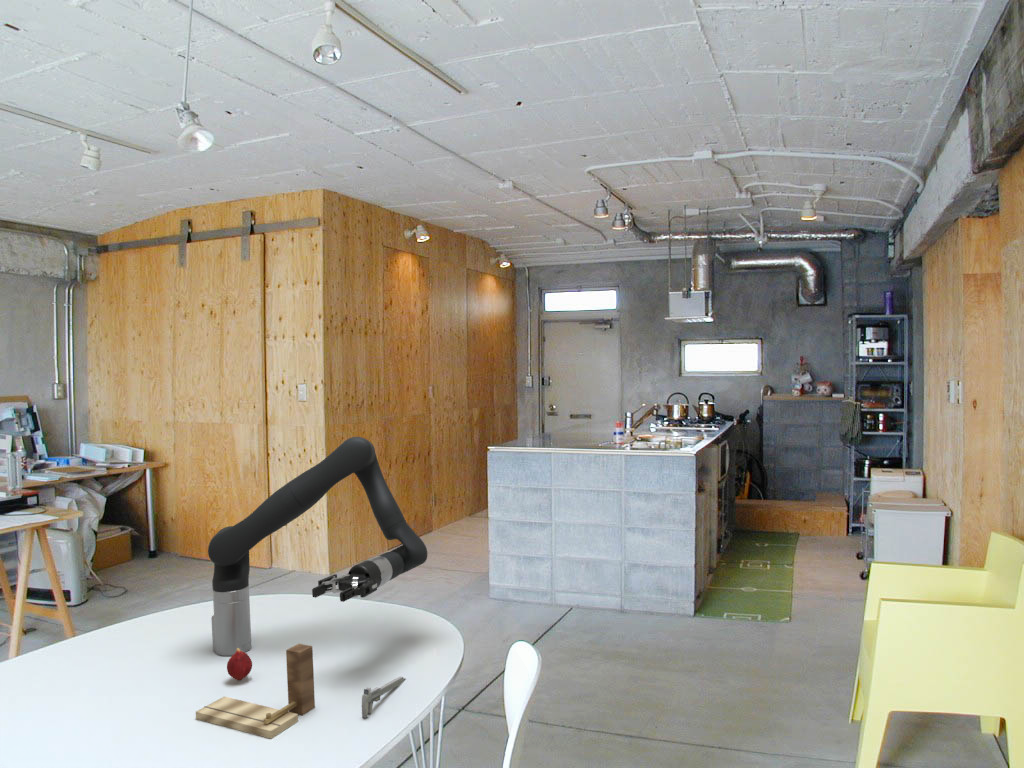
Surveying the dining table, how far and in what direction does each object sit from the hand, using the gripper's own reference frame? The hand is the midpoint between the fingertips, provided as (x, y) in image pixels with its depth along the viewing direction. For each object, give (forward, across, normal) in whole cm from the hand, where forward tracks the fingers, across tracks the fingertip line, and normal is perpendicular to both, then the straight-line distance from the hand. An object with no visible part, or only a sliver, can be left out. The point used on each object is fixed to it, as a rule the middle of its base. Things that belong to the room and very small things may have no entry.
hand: (327, 595), depth 177 cm
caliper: (-1, +14, +23) cm, 27 cm away
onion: (+6, -25, +22) cm, 34 cm away
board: (+20, -7, +22) cm, 30 cm away
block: (+16, +1, +22) cm, 27 cm away
